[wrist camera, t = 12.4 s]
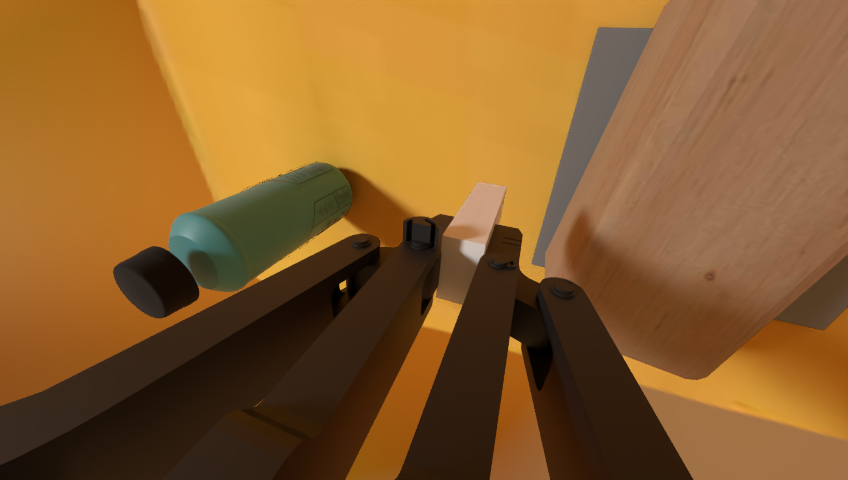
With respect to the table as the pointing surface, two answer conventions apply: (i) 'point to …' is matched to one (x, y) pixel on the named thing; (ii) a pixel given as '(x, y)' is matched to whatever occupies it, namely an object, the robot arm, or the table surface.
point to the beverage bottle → (234, 239)
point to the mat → (592, 114)
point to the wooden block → (715, 181)
